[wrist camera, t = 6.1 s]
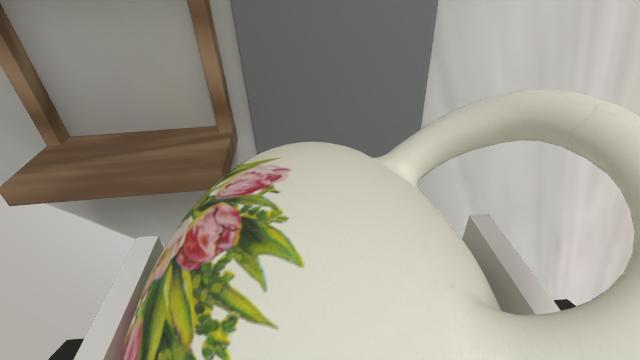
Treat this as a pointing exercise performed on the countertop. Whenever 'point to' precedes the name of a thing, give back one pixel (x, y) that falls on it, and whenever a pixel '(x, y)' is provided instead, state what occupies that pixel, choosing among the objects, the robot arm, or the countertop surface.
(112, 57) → the countertop surface
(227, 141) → the walnut cradle
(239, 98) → the countertop surface
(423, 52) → the rubber mat
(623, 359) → the pitcher
